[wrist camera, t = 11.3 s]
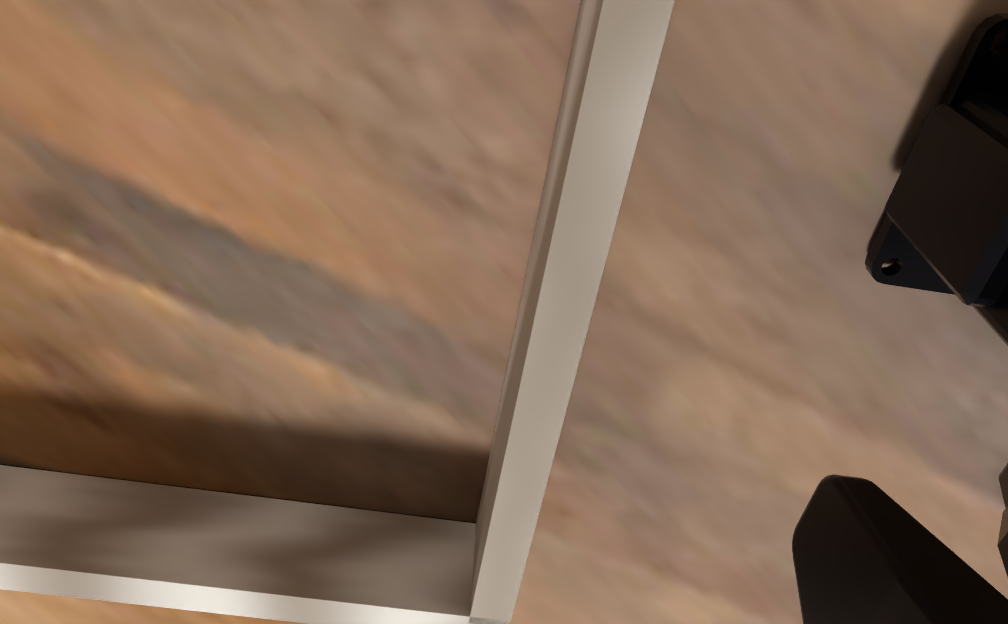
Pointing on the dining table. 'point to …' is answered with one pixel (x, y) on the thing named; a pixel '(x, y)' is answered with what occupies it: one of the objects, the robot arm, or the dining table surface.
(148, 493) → the metal u frame
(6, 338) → the dining table surface
